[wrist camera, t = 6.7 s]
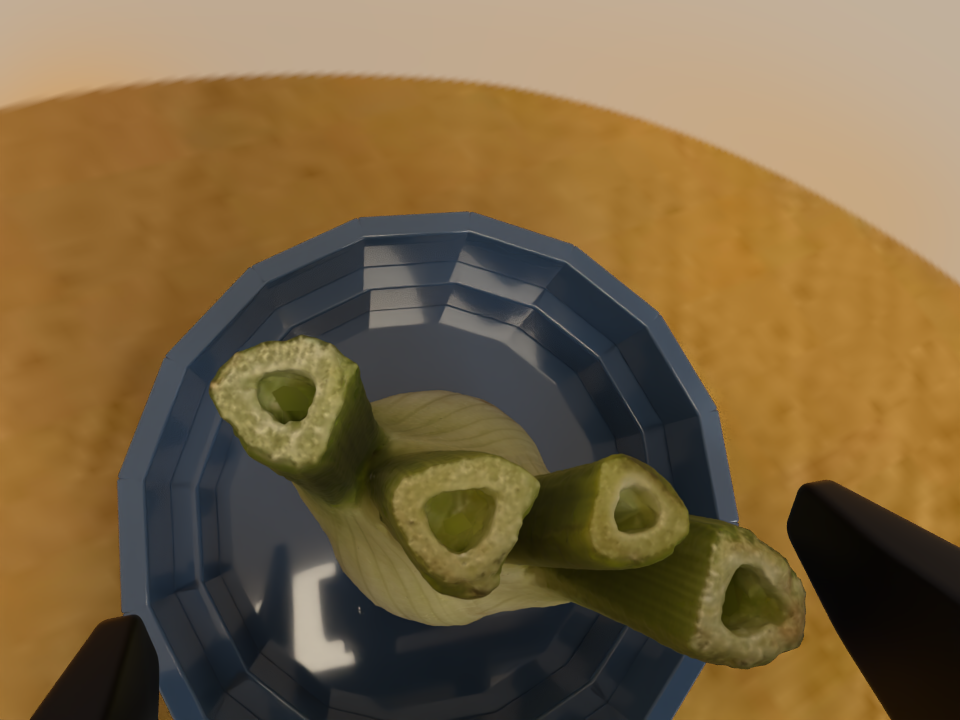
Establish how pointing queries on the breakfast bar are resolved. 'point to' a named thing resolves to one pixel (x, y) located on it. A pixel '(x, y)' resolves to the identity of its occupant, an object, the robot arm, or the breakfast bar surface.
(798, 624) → the fennel bulb
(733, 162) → the breakfast bar surface
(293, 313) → the bowl
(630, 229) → the breakfast bar surface
